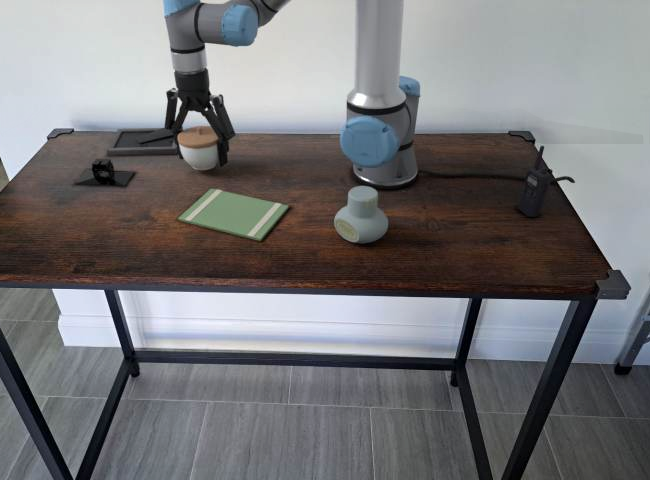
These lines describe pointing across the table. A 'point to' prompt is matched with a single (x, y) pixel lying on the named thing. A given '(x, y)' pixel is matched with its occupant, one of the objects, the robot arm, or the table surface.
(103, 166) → the black mounting bracket
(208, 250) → the table surface
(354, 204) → the air freshener
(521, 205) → the two-way radio
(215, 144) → the trinket box
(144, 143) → the picture frame
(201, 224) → the towel
